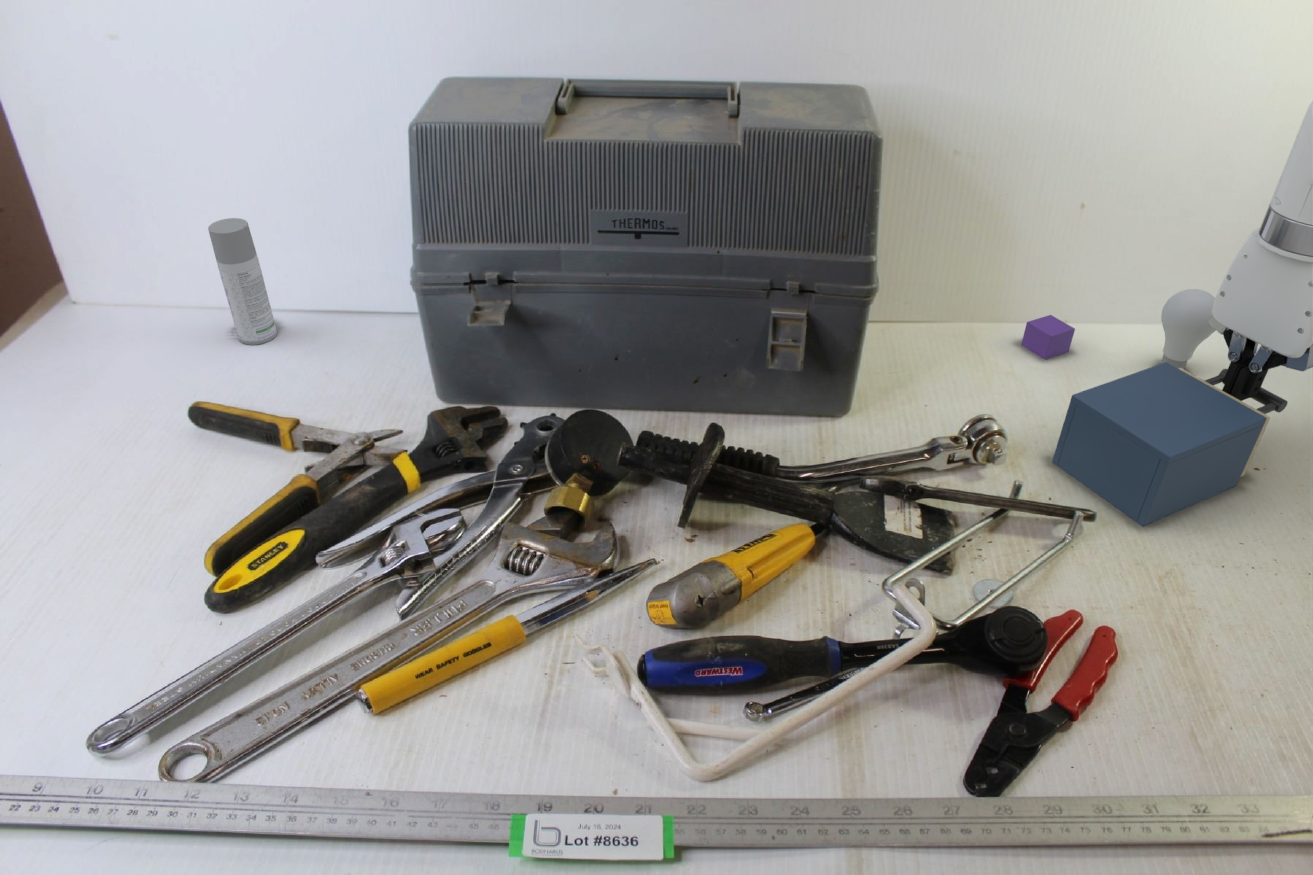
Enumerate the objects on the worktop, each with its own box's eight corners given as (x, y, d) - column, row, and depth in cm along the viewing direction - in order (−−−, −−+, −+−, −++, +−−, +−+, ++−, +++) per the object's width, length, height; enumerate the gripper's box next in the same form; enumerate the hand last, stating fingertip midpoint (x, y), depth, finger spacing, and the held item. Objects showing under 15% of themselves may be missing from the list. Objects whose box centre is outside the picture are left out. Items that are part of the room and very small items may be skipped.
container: (231, 336, 123) (199, 226, 115) (264, 323, 126) (235, 214, 118) (251, 349, 121) (220, 237, 112) (284, 334, 124) (256, 224, 115)
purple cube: (1043, 342, 123) (1050, 314, 120) (1067, 357, 120) (1075, 328, 117) (1019, 349, 121) (1026, 321, 119) (1043, 364, 118) (1051, 336, 116)
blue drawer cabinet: (1140, 432, 107) (1166, 361, 101) (1234, 491, 98) (1267, 417, 93) (1049, 467, 102) (1071, 394, 96) (1140, 532, 93) (1170, 457, 88)
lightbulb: (1204, 389, 114) (1237, 306, 107) (1149, 385, 114) (1178, 302, 108) (1189, 362, 119) (1220, 281, 112) (1136, 358, 119) (1164, 277, 113)
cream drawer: (1194, 410, 109) (1216, 354, 104) (1280, 460, 101) (1308, 402, 97) (1077, 455, 102) (1095, 397, 98) (1160, 512, 94) (1184, 452, 90)
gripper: (1413, 254, 86) (1327, 424, 97) (1260, 196, 96) (1198, 354, 107) (1362, 271, 83) (1279, 444, 94) (1209, 210, 94) (1151, 371, 104)
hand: (1236, 396), depth 100 cm, fingers closed
